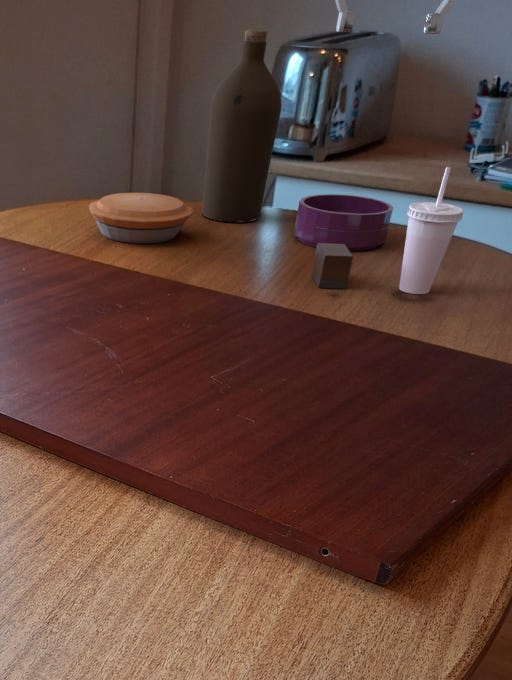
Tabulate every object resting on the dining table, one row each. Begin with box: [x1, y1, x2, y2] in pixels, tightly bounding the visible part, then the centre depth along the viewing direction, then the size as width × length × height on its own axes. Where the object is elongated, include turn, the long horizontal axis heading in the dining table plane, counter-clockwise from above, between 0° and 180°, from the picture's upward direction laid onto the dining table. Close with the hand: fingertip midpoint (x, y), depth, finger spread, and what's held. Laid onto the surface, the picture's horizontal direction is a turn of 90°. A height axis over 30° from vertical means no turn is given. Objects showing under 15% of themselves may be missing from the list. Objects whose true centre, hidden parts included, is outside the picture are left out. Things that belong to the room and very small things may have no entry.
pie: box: [88, 192, 194, 245], centre depth 131 cm, size 15×16×5 cm
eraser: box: [310, 243, 354, 290], centre depth 114 cm, size 6×4×4 cm, turn 175°
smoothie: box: [398, 166, 464, 295], centre depth 108 cm, size 6×6×14 cm
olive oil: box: [201, 29, 282, 224], centre depth 135 cm, size 11×11×25 cm
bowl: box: [293, 193, 394, 252], centre depth 130 cm, size 13×13×5 cm
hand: (387, 32), depth 97 cm, fingers open, 8 cm apart
